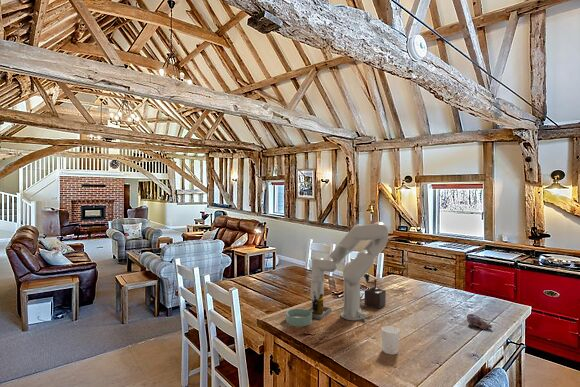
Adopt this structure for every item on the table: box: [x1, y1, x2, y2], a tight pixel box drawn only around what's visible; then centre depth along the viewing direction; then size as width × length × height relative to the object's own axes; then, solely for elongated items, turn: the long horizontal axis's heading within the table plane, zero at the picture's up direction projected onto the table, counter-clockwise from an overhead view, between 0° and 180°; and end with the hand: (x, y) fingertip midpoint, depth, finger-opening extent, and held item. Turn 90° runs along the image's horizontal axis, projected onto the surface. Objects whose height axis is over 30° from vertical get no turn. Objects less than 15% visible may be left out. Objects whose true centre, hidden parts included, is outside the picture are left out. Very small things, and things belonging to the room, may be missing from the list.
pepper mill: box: [363, 273, 387, 309], centre depth 210 cm, size 16×11×18 cm
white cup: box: [381, 325, 401, 355], centre depth 148 cm, size 8×8×10 cm
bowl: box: [285, 307, 313, 327], centre depth 181 cm, size 14×14×4 cm
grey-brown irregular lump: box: [466, 313, 493, 330], centre depth 176 cm, size 12×8×6 cm, turn 40°
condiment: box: [311, 294, 324, 315], centre depth 192 cm, size 7×8×12 cm
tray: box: [306, 305, 332, 321], centre depth 193 cm, size 11×15×2 cm
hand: (317, 308), depth 193 cm, fingers closed on condiment, 6 cm apart
